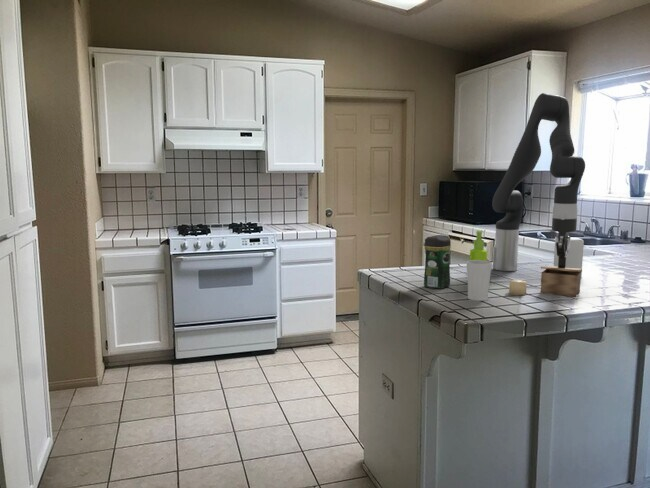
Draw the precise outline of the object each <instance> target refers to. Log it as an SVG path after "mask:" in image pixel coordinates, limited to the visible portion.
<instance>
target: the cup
mask: <svg viewBox="0 0 650 488" xmlns="http://www.w3.org/2000/svg"><path fill="white" fill-rule="evenodd" d="M492 269H493V261H489V260H487V261H484V260H470V259H468V260H466V273H467V275H466V277H467V299H468V300H471V301H479V302H483V301H487V300H488V299H489V290H490V282H491V274H492Z"/></svg>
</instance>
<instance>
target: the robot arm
mask: <svg viewBox="0 0 650 488" xmlns="http://www.w3.org/2000/svg"><path fill="white" fill-rule="evenodd" d="M530 112H531V113H530V114H529V118H528V121H527V124H526V127H525V129H524V132H523V134H522V137H521V138H520V140H519V143H518V145H517V147H516V149H515V152H514V153H513V156H512V158H511V161H510V163H509V166H508V168H507V170H506V172H505V174H504V176H503V178H502V180H501V182H500V183H499V186H498V187H497V189H496V191H495V192H494V195H493V197H492V202H491V203H492V205H491V207H492V209H493V210H494V212H496V213H498V214H499V213H501V214H502V213H503V214H505V216H504V217H503V218H502V219H500V220H498V221H496V223H495V237H494V238H495V240H494V241H495V243H494V246H493V254H492V270H496V271H501V272H516V271H518V261H519V259H518V256H519V236H520V235H519V234H520V225H521V222H522V218H523V217H522V214H523V207H524V199H523V195H522V193H521V192H520V191H519V190H515V188H516V187H517V186H518V185H519V184H520V183H521V182H522V181H523V180H525V178H526V177H528V176H529V175H530V174H531V173H532V172H533V171H534V170H535V168H536V166H537V163H538V162H539V159H540V158H541V156H542V155H541V154H542V146H541V142H540V137H539V126H540V123H541V121H542V120H544V121H549V122H555V123H556V127H555V128H554V129H553V130H552V131H551V133H550V136H549V142H548V143H549V146H550V151H551V161H550V166H549V171H550V172H549V173H550V174H551V176H552V177H554V178H557V179H566V178H567V179H570V180H569V182H567V183H566V184H561V185H557V186H556V187H555V188H554V193H553V195H554V197H553V207H552V214H551V215H552V217H551V219H552V220H551V230H552V231H553V232H558V235H557V236H555V237H556V249H557V256H558V257H559V259H558V268H565V267H566V257H567V254H568V250H569V244H570V240H571V236H570V233H574V232H576V231H577V226H578V225H577V223H578V222H577V221H578V204H577V203H578V193H579V192H578V191H579V188H580V184H581V182H582V181H581V180H582V178H583V176H584V173H585V171H586V169H585V168H586V162H585V159H584V158H583V157H582V156H576V155H574V154H575V146H574V142H573V139H572V135H571V130H570V129H571V126H570V120H571V119H570V105H569V100H568V98H566V97H564V96H561V95H558V94H550V93H547V92H546V93H545V92H543V93H540V94H539V95H538V96H537V98H536V99H535V102H534V104H533V107H532V109H531V111H530Z"/></svg>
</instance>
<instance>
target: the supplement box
mask: <svg viewBox="0 0 650 488" xmlns="http://www.w3.org/2000/svg"><path fill="white" fill-rule="evenodd" d="M556 237H557V236H555V237H554V250H553V252H554V253H553V266H555V267H558V259H559V257H558V256H557V249H556ZM570 237H571V236H570ZM584 245H585V241H584V239H582V238H579V237H575V236H574V237H571V240H570V244H569V250H568V254H567V257H566V268H578V269H582V270H583V260H584ZM579 272H580V271H579ZM582 274H583V271H582V272H581V278H583V277H582Z"/></svg>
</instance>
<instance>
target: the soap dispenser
mask: <svg viewBox="0 0 650 488" xmlns="http://www.w3.org/2000/svg"><path fill="white" fill-rule="evenodd" d="M475 233H476V239H474V240H473V248H471V249H469V260H484V261H488V250H487V249H485V248H484V247H485V240H483V239H482V236H483V235H482V234H483V233H484V232H483V230H476V232H475Z"/></svg>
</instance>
